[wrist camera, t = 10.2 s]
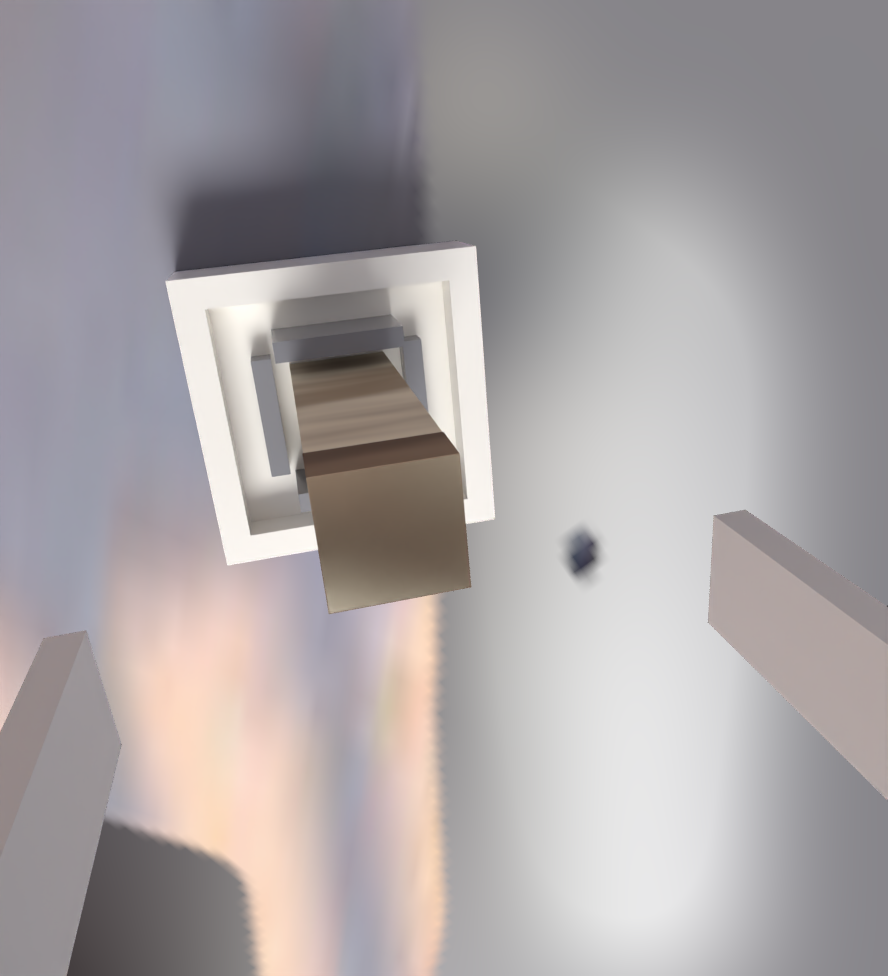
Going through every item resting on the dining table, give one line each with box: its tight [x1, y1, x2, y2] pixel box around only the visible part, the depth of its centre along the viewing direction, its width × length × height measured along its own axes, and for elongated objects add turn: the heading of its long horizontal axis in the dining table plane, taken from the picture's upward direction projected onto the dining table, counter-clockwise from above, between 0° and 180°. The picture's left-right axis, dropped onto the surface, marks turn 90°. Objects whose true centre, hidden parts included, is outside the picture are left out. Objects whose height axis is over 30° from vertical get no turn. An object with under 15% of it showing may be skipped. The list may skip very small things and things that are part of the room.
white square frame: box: [165, 241, 495, 565], centre depth 33 cm, size 12×12×5 cm
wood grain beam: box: [289, 352, 471, 614], centre depth 27 cm, size 4×4×14 cm
